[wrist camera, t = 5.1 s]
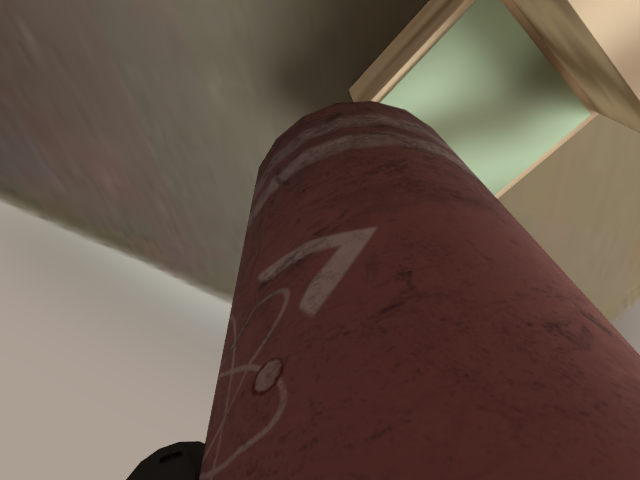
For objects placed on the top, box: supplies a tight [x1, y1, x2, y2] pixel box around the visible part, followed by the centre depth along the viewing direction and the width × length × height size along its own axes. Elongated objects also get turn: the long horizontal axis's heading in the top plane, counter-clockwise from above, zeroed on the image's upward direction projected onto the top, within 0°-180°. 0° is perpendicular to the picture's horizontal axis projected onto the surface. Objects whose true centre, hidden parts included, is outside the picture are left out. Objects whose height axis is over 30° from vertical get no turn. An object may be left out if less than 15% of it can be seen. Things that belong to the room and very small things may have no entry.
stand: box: [349, 0, 640, 199], centre depth 24 cm, size 10×17×12 cm, turn 138°
